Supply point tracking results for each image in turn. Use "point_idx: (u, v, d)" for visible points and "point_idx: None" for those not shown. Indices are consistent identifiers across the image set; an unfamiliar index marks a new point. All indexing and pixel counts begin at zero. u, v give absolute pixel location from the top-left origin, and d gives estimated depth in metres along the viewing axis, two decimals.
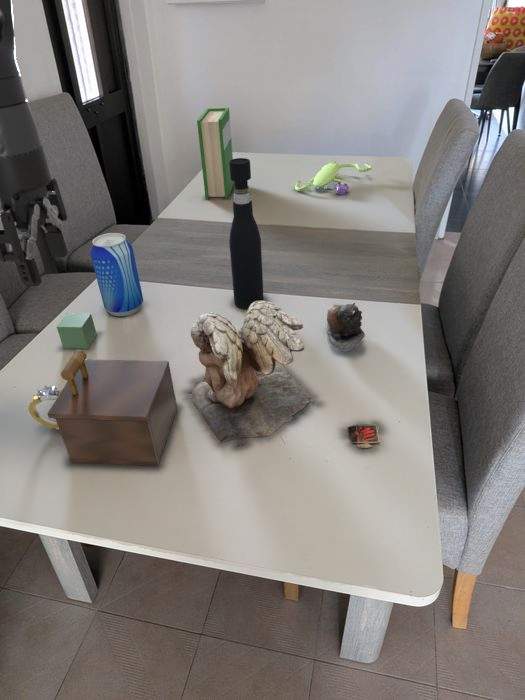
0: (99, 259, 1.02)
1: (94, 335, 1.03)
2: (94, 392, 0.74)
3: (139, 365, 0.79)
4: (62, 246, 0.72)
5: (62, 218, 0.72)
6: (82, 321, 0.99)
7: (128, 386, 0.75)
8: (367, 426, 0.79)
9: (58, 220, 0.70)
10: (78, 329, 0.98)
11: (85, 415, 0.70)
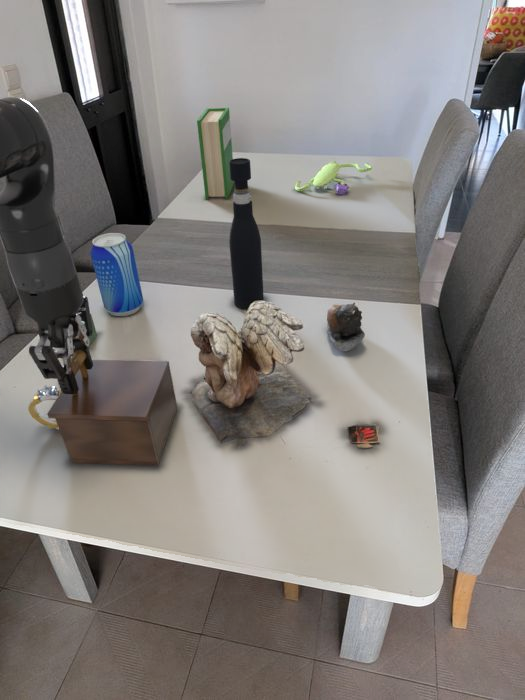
0: (99, 259, 1.02)
1: (94, 335, 1.03)
2: (94, 392, 0.74)
3: (139, 365, 0.79)
4: (88, 360, 0.76)
5: (88, 334, 0.76)
6: (82, 321, 0.99)
7: (128, 386, 0.75)
8: (367, 426, 0.79)
9: (85, 338, 0.74)
10: None
11: (85, 415, 0.70)
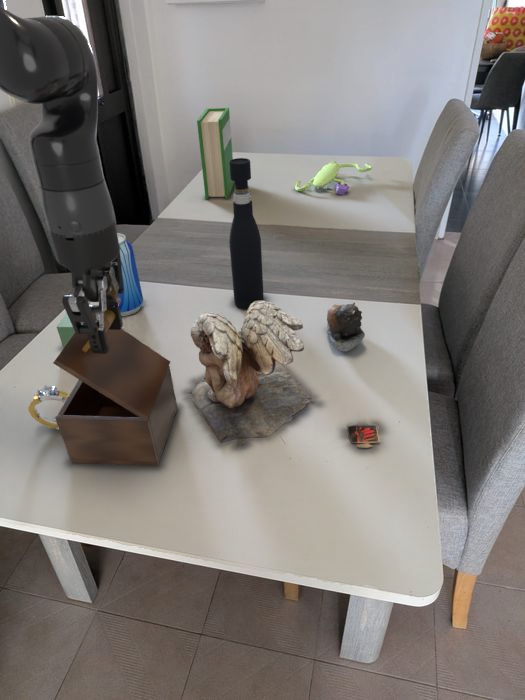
0: None
1: None
2: (102, 359, 0.70)
3: (145, 350, 0.77)
4: (118, 319, 0.71)
5: (119, 291, 0.71)
6: None
7: (134, 370, 0.73)
8: (367, 426, 0.79)
9: (116, 295, 0.69)
10: None
11: (93, 383, 0.67)
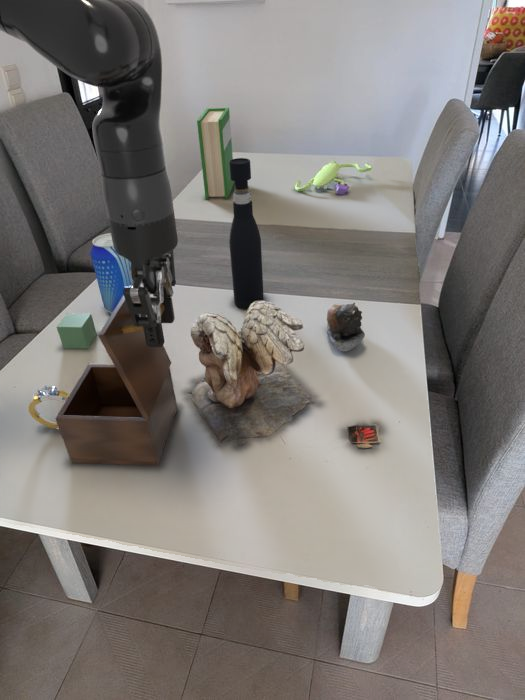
0: (99, 259, 1.02)
1: (94, 335, 1.03)
2: (132, 345, 0.68)
3: None
4: (171, 313, 0.70)
5: (172, 284, 0.69)
6: (82, 321, 0.99)
7: (149, 365, 0.72)
8: (367, 426, 0.79)
9: (170, 287, 0.68)
10: (78, 329, 0.98)
11: (122, 369, 0.65)
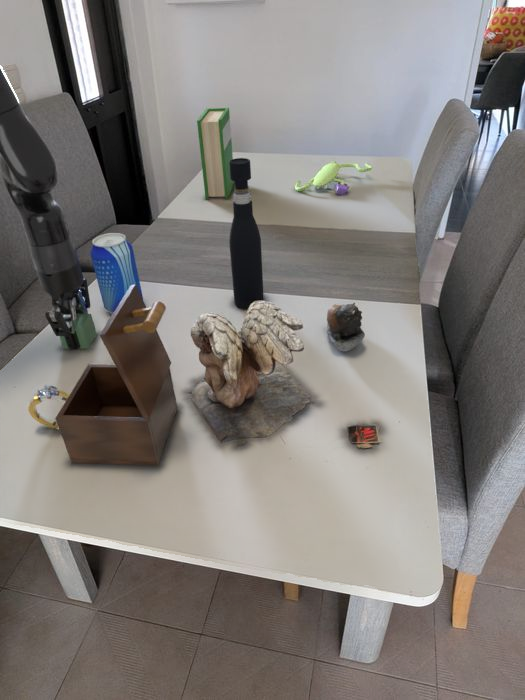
0: (99, 259, 1.02)
1: (94, 335, 1.03)
2: (133, 344, 0.68)
3: (159, 345, 0.76)
4: None
5: (87, 307, 1.03)
6: (82, 321, 0.99)
7: (149, 364, 0.72)
8: (367, 426, 0.79)
9: (84, 309, 1.02)
10: (78, 329, 0.98)
11: (123, 369, 0.65)
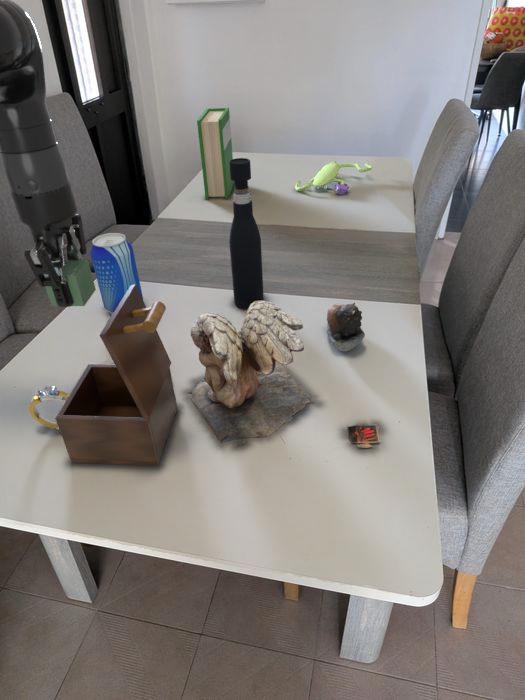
0: (99, 259, 1.02)
1: (92, 290, 0.78)
2: (133, 344, 0.68)
3: (159, 345, 0.76)
4: None
5: (82, 252, 0.78)
6: (76, 269, 0.74)
7: (149, 364, 0.72)
8: (367, 426, 0.79)
9: (79, 255, 0.76)
10: (71, 279, 0.73)
11: (123, 369, 0.65)
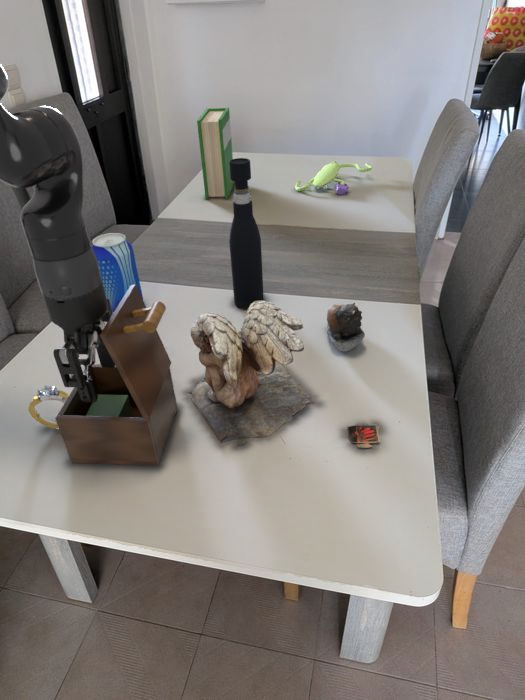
0: (99, 259, 1.02)
1: None
2: (133, 344, 0.68)
3: (159, 345, 0.76)
4: None
5: None
6: (118, 407, 0.77)
7: (149, 364, 0.72)
8: (367, 426, 0.79)
9: None
10: None
11: (123, 369, 0.65)
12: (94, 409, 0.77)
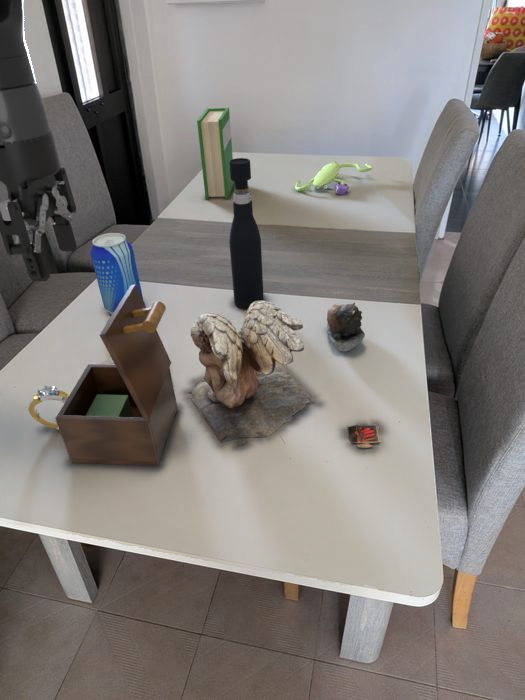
0: (99, 259, 1.02)
1: None
2: (133, 344, 0.68)
3: (159, 345, 0.76)
4: (71, 239, 0.69)
5: (71, 210, 0.68)
6: (118, 407, 0.77)
7: (149, 364, 0.72)
8: (367, 426, 0.79)
9: (67, 212, 0.67)
10: None
11: (123, 369, 0.65)
12: (94, 409, 0.77)
